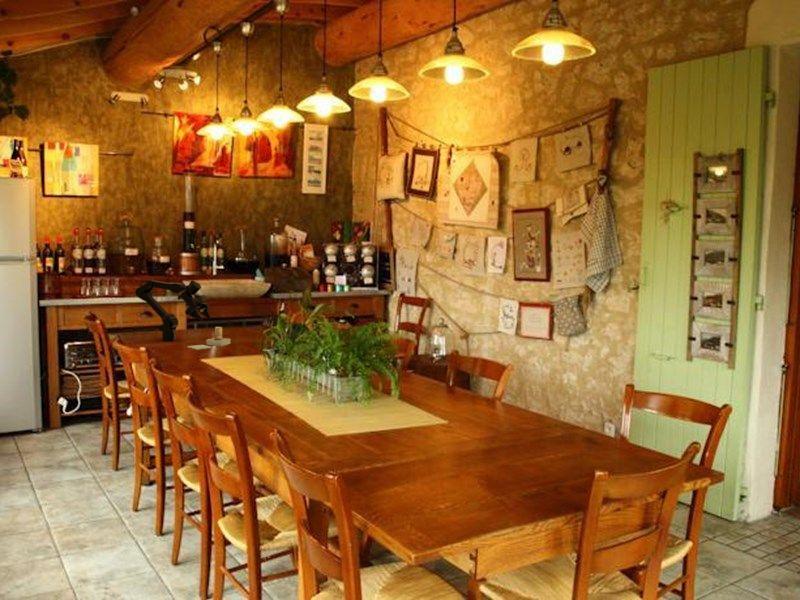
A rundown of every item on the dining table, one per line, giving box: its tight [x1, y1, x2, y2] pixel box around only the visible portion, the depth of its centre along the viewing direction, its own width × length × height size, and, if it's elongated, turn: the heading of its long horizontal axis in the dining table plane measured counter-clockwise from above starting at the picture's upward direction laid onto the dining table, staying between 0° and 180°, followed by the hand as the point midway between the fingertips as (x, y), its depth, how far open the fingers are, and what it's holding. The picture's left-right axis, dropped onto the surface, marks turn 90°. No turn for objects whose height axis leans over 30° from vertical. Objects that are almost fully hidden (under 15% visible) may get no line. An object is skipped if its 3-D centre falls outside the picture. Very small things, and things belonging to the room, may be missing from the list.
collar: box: [205, 337, 231, 347], centre depth 457 cm, size 10×10×3 cm
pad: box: [186, 344, 213, 351], centre depth 443 cm, size 10×10×1 cm
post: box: [214, 326, 223, 340], centre depth 456 cm, size 4×4×10 cm
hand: (206, 319), depth 458 cm, fingers open, 9 cm apart
